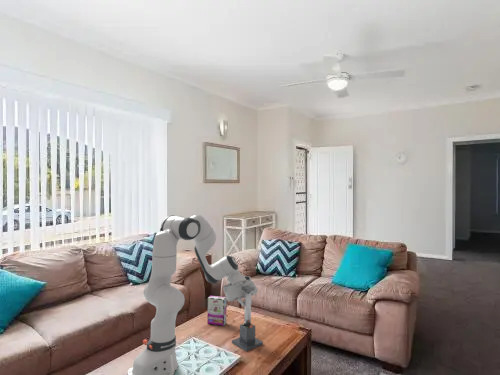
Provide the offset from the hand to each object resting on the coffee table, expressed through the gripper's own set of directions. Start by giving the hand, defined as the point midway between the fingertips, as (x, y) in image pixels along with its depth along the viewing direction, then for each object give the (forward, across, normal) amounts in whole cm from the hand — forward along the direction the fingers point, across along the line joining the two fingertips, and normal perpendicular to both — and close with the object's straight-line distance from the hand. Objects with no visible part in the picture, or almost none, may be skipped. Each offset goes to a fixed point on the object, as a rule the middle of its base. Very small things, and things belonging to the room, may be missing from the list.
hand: (247, 304), depth 177 cm
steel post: (+10, 0, +10) cm, 14 cm away
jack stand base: (+15, 0, +15) cm, 21 cm away
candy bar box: (-7, +2, +38) cm, 38 cm away
